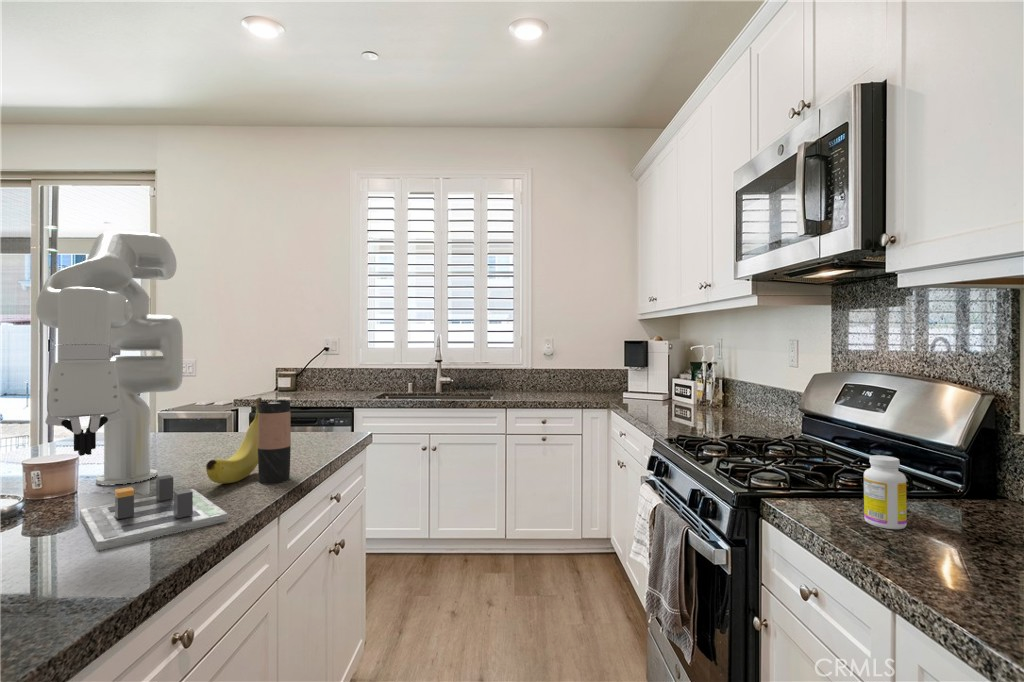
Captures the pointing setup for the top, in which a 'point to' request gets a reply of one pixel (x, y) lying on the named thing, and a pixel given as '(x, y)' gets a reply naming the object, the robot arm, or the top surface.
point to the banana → (238, 457)
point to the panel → (147, 520)
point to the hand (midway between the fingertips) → (84, 453)
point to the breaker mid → (124, 502)
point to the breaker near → (183, 503)
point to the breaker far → (164, 487)
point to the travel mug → (274, 441)
